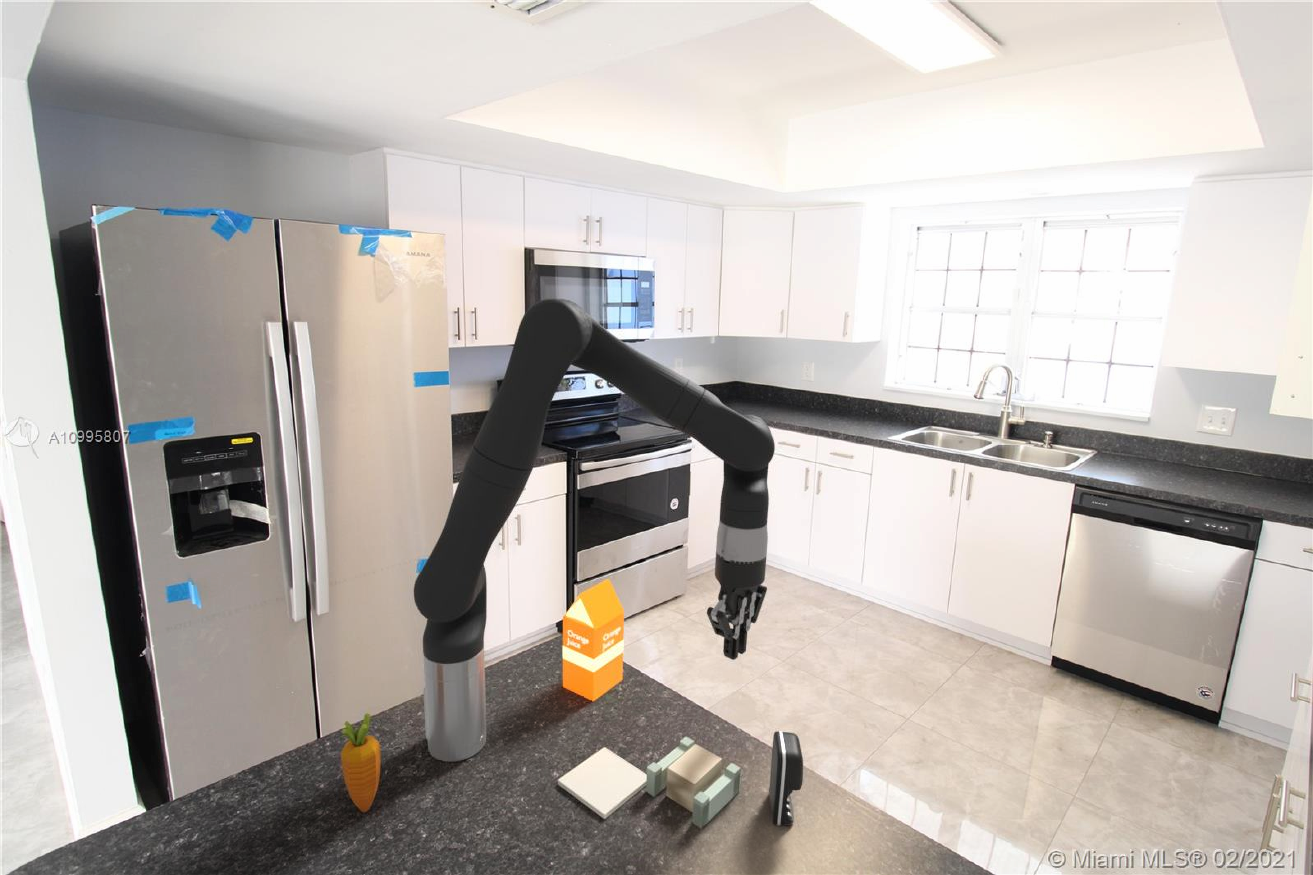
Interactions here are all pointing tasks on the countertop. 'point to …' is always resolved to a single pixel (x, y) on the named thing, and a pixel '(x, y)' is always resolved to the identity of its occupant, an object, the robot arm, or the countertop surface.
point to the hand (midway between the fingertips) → (734, 654)
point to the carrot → (361, 764)
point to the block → (692, 775)
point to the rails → (704, 802)
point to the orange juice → (593, 642)
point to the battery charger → (784, 776)
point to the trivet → (603, 782)
